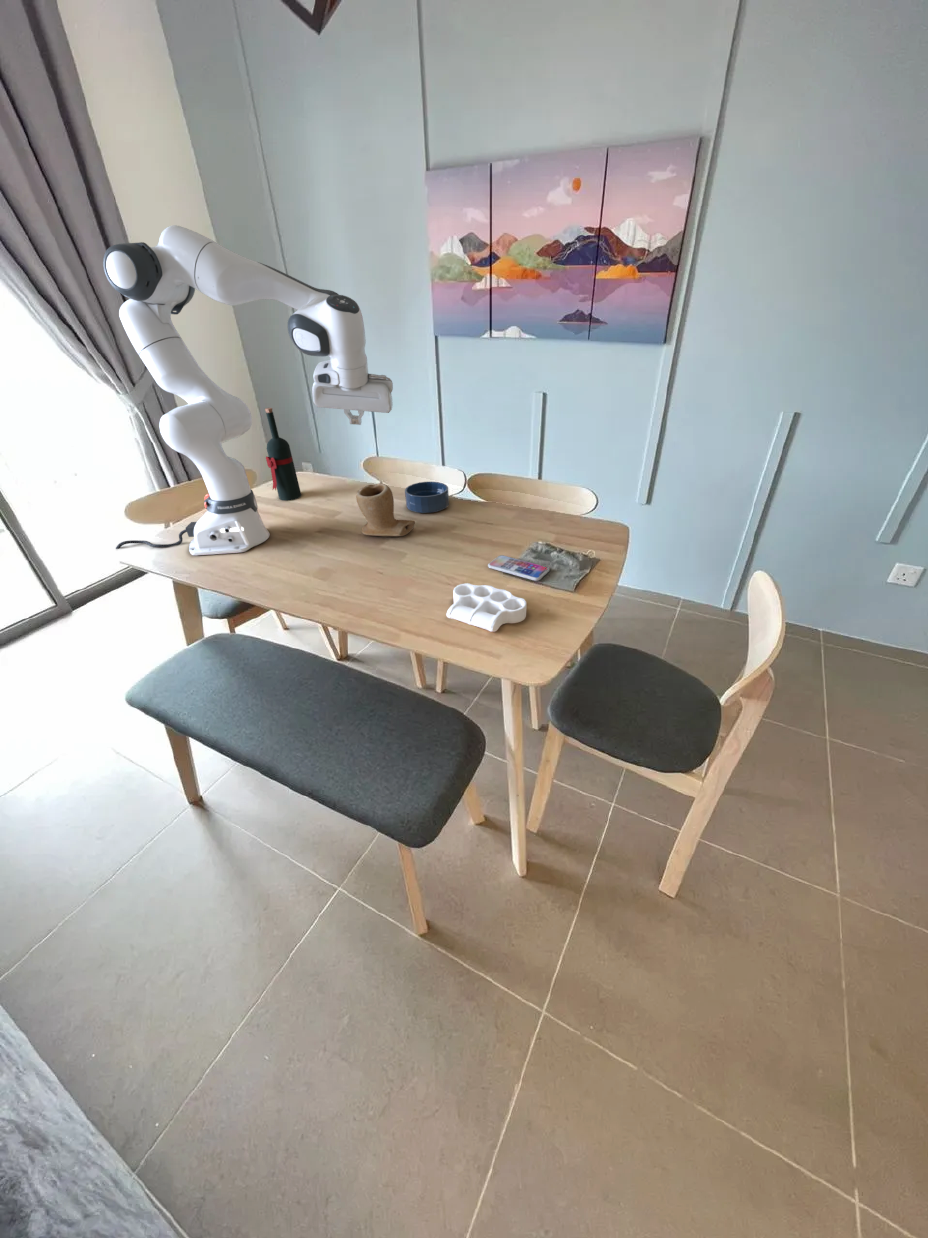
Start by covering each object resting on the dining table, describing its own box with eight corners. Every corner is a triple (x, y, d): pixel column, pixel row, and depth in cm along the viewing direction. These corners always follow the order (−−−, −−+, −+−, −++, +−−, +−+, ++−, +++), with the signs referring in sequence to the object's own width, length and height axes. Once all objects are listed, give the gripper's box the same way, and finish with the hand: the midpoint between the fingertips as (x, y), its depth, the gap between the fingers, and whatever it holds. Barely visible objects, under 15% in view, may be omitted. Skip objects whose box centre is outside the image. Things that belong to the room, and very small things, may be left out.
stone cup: (355, 540, 145) (346, 491, 137) (371, 524, 155) (363, 477, 146) (403, 544, 142) (397, 494, 133) (416, 527, 151) (411, 479, 143)
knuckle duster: (435, 617, 111) (468, 587, 121) (506, 640, 103) (535, 606, 113) (433, 604, 109) (468, 575, 119) (506, 627, 101) (536, 594, 111)
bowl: (411, 517, 158) (409, 499, 155) (403, 501, 170) (401, 484, 166) (453, 510, 161) (452, 493, 158) (443, 496, 173) (442, 479, 169)
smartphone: (500, 553, 133) (551, 567, 126) (500, 557, 133) (550, 570, 126) (486, 564, 128) (538, 579, 121) (486, 568, 128) (538, 582, 121)
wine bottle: (269, 500, 175) (244, 411, 158) (290, 491, 182) (269, 404, 165) (285, 504, 172) (261, 413, 155) (306, 494, 179) (286, 406, 162)
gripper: (393, 369, 124) (395, 419, 135) (311, 362, 123) (320, 413, 134) (390, 382, 120) (393, 433, 132) (306, 375, 120) (315, 426, 131)
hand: (355, 423), depth 133 cm, fingers closed
